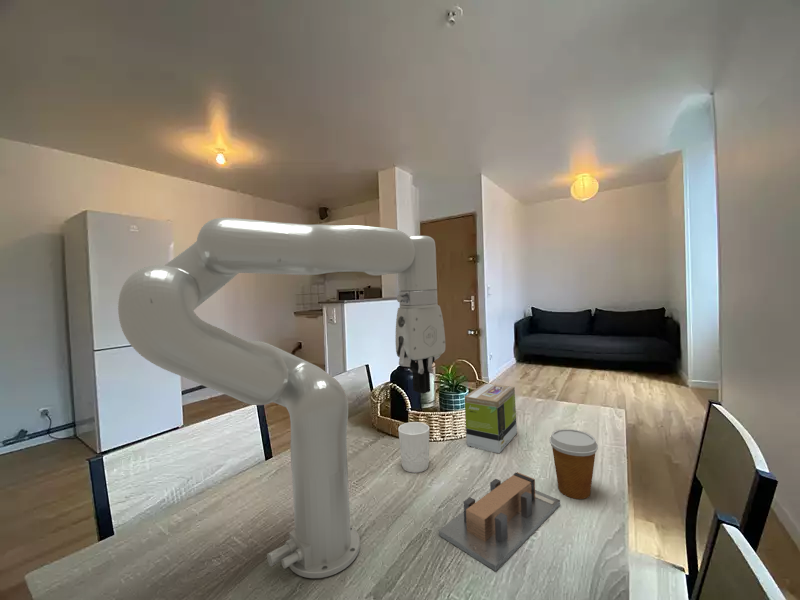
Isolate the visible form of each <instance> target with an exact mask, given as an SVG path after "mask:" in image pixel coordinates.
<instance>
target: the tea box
mask: <svg viewBox="0 0 800 600" xmlns="http://www.w3.org/2000/svg"><path fill="white" fill-rule="evenodd" d="M515 387H516V386H510V385H500V384H493V383H492V384H491V383H485V382H484V383H483V384H481V385H480V386H478V387H477V388H475V389H474V390H472V391H471V392H469V393H468V394H467V395H465V396H464V412H465V413H464V417H465V431H466V432H465V433H466V434H465V435H466V437H465V438H466V445H467V447H470V446H471V447H470V448H474V447H475V449H478V448H479V449H478V450H483V451H487V452H492V453H496V454H500V453H502V451H503V450H504V449H505V447H507V445H508V444H509V443H510V442H511V441H513V440H512V439H514V437H515V436H516V435H517V434H518V429H517V409H516V391H515Z"/></svg>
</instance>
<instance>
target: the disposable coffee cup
mask: <svg viewBox="0 0 800 600" xmlns="http://www.w3.org/2000/svg"><path fill="white" fill-rule="evenodd" d="M550 435H551V436H550V437H549V443H550V445H551V448H552V449H551V450H552V454H553V463H554V468H555V474H556V481H557V489H558V491H559V492H560V493H561V494H562V495H563V496H565V497H568V498H571V499H576V500H584V499H587V498H589V497H591V491H592V482H593V477H594V476H593V474H594V467H595V460H596V453H597V451H598V448H599V445H598V442H597V441H596V438H595V437H594V436H593V435H591V434H590V433H587V432H584V431H582V430H577V429H571V428H566V429H565V428H563V429H556V430H554V431H552V432H551V434H550Z"/></svg>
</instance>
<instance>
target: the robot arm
mask: <svg viewBox="0 0 800 600" xmlns="http://www.w3.org/2000/svg"><path fill="white" fill-rule="evenodd" d="M338 272H339V273H342V272H344V273H345V272H350V273H351V272H359V273H360V272H363V273H364V274H367V275H369V276H385V275H397V274H398V275H397V276H398V277H397V278H398V279H397V280H398V295H397V296H396V302H398V303H399V307H397V312H396V313H397V314H396V321H395V352H396V355H397V357H398V358H399V359H398V365H399V366H401V367H407V368H408V369H409V371H410V372H411V373H412V388H413V389H412V390H413V391H414V392H416V393H420V394H423V395H424V394H426V393H430V392H431V378H430V377H431V376H430V372H432V370H433V364H434V362H435V361H436V360H438V359H439V358H440V357H441V355H442V354H444V353H445V351H446V334H445V323H444V319H443V313H442V309H441V306H440V305H438V281H437V279H438V278H437V250H436V242H435V239H434V238H433V237H431V236H429V235H410V236H409V235H408V234H407V233H405V232H403V231H402V230H400V229H395V228H387V227H378V226H369V225H355V224H353V225H351V224H346V225H345V224H341V225H340V224H337V225H336V224H334V225H332V224H304V223H292V222H291V223H290V222H280V221H279V222H278V221H270V220H269V221H268V220H258V219H249V218H239V217H238V218H237V217H216V218H213V219H211V220H209V221H207V222H205V224H203V226H202V227H201V228H200V230H199V232H198V234H197V237H196V241H195V242H193V244H191V245H190V246H189V247H187V248H186V249H185V250H184V251H182V252H181V253H179V254H178V255H177V256H175V257H174V258H173V259H171V260H170V261H168V262H167V263H166V264H164V265H161V264H159V265H150V266H146V267H143V268H140V269H138V270H136V271H134V272H133V273H132V274H131V275H130V276H128V277H127V279H126V280H125V281H124V283H123V285H122V287H121V289H120V292H119V295H118V296H119V297H118V301H117V302H118V303H117V305H118V306H117V307H118V308H117V309H118V321H119V324H120V328H121V330H122V333H123V335H124V337H125V339H126V340H127V342H128V343H129V344H130V346H131V347H132V348H133V349H134V350H135V351H136V353H137V354H139V355H140V356H141V357H143V358H144V359H145V360H147V361H148V362H150V363H151V364H153V365H154V366H156V367H159V368H160V369H163V370H165V371H167V372H170V373H173V374H175V375H178V376H180V377H183V378H184V379H187V380H190V381H192V382H194V383H197V384H199V385H201V386H203V387H206V388H208V389H211V390H214V391H216V392H219V393H221V394H224V395H226V396H229V397H230V398H233V399H235V400H238V401H240V402H241V403H245V404H247V405H251V406H264V405H268V404H271V403H274V404H277V405H280V406H282V407H283V408H286V410H287V412H288V414H289V420H290V463H291V464H290V465H291V480H292V481H291V482H292V498H293V499H292V500H293V515H294V517H293V518H294V520H293V521H294V529H293V530H291V531H289V539H288V540H286V541H285V542H284V545H282V546H280V547H277V548H275V549H273V550H272V551H270V552H269V553H268V552H267V553H266V554H267V555H266V558H267V563H268V565H269V566H270V567H273V566H274V565H277V563H280V562H281V566H282V568H283V569H287V568H288V567H289V569H290V570H291V571H292V572H293V573H294V574H295V575H298V576H300V577H304V578H308V579H323V578H327V577H328V578H329V577H330V576H331V577H332V576H333V575H336V574H338V573H340V572H342V571H344V570H345V569H347V567H349V566H350V565H351V564H352V563H353V562H354V560H356V559H357V556H358V555H359V553H360V548H361V538H360V534H359V532H358V530H357V529H355V527H353V526H352V525H351V514H350V513H351V511H350V493H349V492H350V491H349V471H348V470H349V469H348V466H349V465H348V451H347V450H348V449H347V443H348V442H347V435H348V433H347V432H348V431H347V430H348V420H349V401H348V397H347V396H348V395H347V394H346V392H345V390H344V387H343V386H342V384H341V383H340V382H339V381H338V379H336V378H335V377H333V376H332V375H331V374H329V373H328V372H326V371H325V370H324V369H323V368H321V367H319V366H318V365H316V364H314V363H311V362H309V361H307V360H305V359H302V358H301V357H299V356H296V355H294V354H293V353H290V352H288V351H286V350H284V349H281V348H279V347H277V346H275V345H272V344H270V343H268V342H265V341H262V340H251V341H247V340H244V339H242V338H241V337H237V336H236V335H233V334H231V333H229V332H227V331H226V330H225V329H222V328H220V327H217V326H216V325H212V324H210V323H208V322H206V321H205V320H203V319H201V318H200V317H199V316H198V315H197V314H196V312H195V311H194V310H196V309H197V308H199V306H201V305H202V304H203V303H204V302H205V301H207V300H208V299H210V297H212V296H213V295H214V294H215V293H217V292H218V291H219V290H220V289H222V288H224V286H226V285H228V283H229V282H230V281H231V280H233V279H234V278H235V277H236V276H237V275H239V274H260V275H261V274H268V275H293V276H294V275H295V276H315V275H323V274H329V273H338Z"/></svg>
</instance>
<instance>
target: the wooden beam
mask: <svg viewBox="0 0 800 600" xmlns="http://www.w3.org/2000/svg"><path fill="white" fill-rule="evenodd" d="M505 480H506V481H505ZM505 480H504V481H505V482H504V481H502V482H503V483H502V484H500V485H499V486H498V487H496V488H495V489H494V490H492V491H491V492H490V491H489V492H488V493H486V494H487V495H486V494H485V495H484V496H482V497H483V498H482V497H481V498H480V499H478V500H479V501H478V500H477V501H475V503H474V504H473V505H472V506H470V507H469V508H468V509H466V522H467V531H468V532H470V533H471V534H473V535H475V536H476V537H478V538H480V539H481V540H483V541H485V542H486V541H487V540H488V539H489V538H490V537H491V536H492V535H494V534H495V517H496V516H498V515H499V514H500V513H503V514H505V515H507V522H508V521H509V520H511V519H512V518H513V517H514V516H515V515H516V514H517V513H519V512H520V511H521V495H522V494H523V493H525V492H528V493H531V494H532V501H533V500H534V498H535V490H536V478H533V477H531V476H528V475H525V474H523V473H520V472H514V473H513V475H512V476H510V477H509V478H506V479H505Z"/></svg>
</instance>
